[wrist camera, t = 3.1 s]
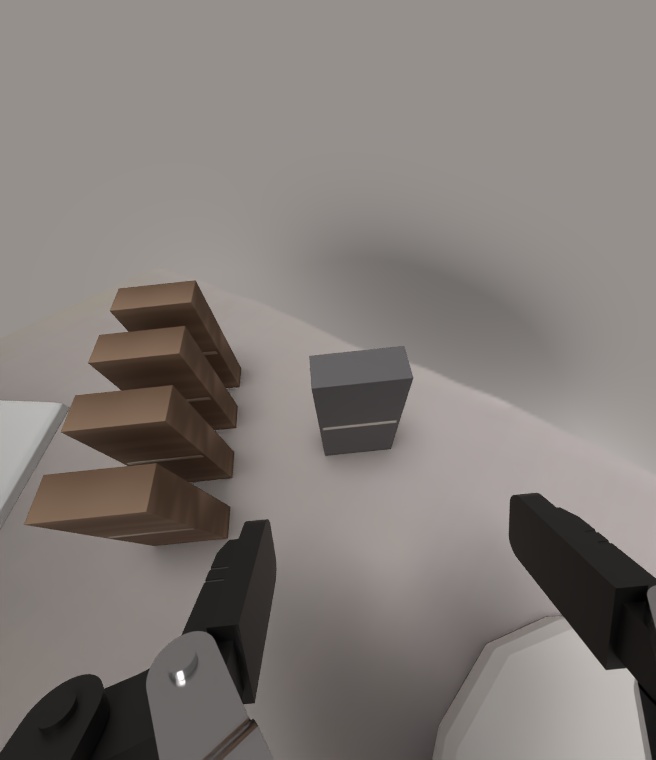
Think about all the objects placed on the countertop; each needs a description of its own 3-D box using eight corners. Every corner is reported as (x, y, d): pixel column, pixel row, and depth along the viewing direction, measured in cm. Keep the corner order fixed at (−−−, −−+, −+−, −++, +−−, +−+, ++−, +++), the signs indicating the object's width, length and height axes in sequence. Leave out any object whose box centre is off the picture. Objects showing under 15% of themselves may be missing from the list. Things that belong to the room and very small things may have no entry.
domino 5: (390, 449, 24) (413, 378, 15) (325, 455, 24) (311, 388, 15) (385, 424, 25) (404, 345, 16) (323, 431, 25) (309, 355, 16)
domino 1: (239, 386, 28) (190, 302, 19) (183, 392, 28) (109, 311, 19) (240, 368, 29) (195, 280, 20) (186, 373, 29) (118, 288, 20)
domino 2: (235, 428, 25) (179, 353, 17) (174, 434, 25) (87, 363, 17) (237, 405, 27) (185, 325, 18) (179, 412, 27) (99, 334, 18)
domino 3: (232, 478, 23) (165, 421, 15) (165, 485, 23) (60, 432, 15) (234, 451, 24) (172, 384, 16) (170, 458, 24) (75, 395, 16)
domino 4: (227, 538, 21) (146, 512, 13) (154, 546, 21) (23, 525, 13) (230, 506, 22) (156, 462, 14) (160, 513, 22) (43, 474, 14)
